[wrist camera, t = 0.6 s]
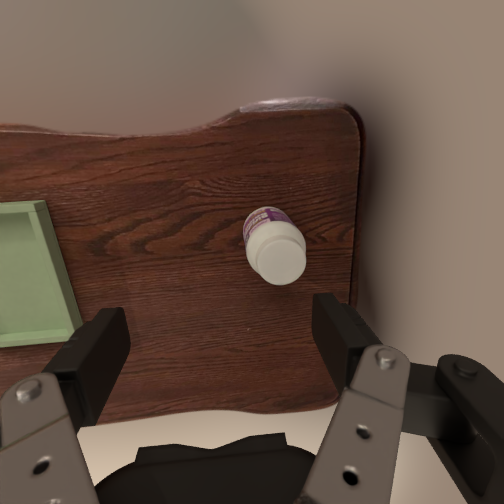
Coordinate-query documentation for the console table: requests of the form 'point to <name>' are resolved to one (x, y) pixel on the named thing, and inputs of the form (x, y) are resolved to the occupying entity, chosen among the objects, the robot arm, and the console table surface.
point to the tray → (33, 279)
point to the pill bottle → (274, 246)
